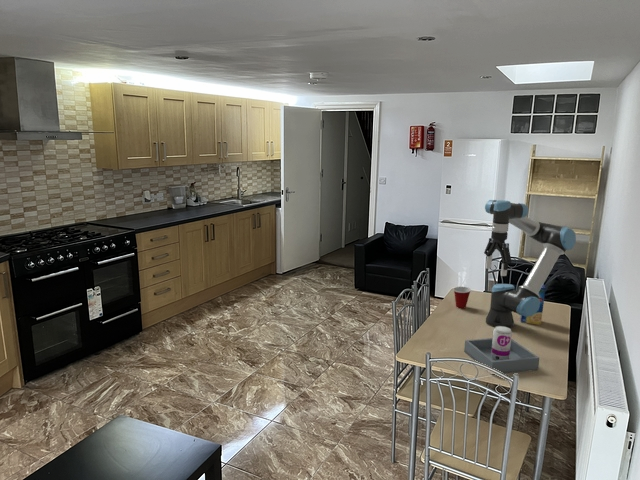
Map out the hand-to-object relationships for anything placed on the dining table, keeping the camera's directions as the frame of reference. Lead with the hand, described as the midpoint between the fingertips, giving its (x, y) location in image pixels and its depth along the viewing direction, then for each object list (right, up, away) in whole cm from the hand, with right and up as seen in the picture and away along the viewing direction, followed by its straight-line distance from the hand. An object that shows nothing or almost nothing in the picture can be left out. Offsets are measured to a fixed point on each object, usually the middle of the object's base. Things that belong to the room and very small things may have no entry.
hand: (495, 272), depth 248 cm
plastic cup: (-2, -26, +55) cm, 61 cm away
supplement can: (-4, -40, -17) cm, 44 cm away
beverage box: (+32, -31, +33) cm, 56 cm away
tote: (-4, -41, -17) cm, 45 cm away
